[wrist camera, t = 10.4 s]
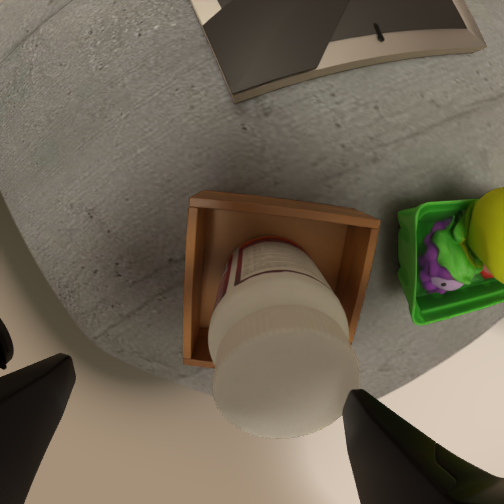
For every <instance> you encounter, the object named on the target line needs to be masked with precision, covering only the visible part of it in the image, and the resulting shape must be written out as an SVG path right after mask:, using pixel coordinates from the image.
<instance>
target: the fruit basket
mask: <svg viewBox="0 0 504 504" xmlns="http://www.w3.org/2000/svg"><path fill="white" fill-rule="evenodd" d="M398 221H399V225H400V228H399V232H398V260H399V264H400V267H399V270H398V279H399V281H400V284H401V286H402V289H403V291H404V293H405V296H406V298H407V301H408V303H409V311H410V314H411V318H412V321H413V322H414V323H415V324H416V325H419V326H421V325H427V324H430V323H434V322H438V321H441V320H445V319H449V318H452V317H455V316H460V315H463V314H466V313H470V312H473V311H476V310H480V309H483V308H486V307H489V306H492V305H495V304H498V303H502V302H504V187H502V188H497V189H494V190H491V191H489V192H488V193H486V194H485V195H484V196H483V197H482V198H480V199H467V200H452V201H436V202H426V203H423V204H420V205H419V206H417V207H414V208H409V209H404V210H401V211H399V212H398Z"/></svg>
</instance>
